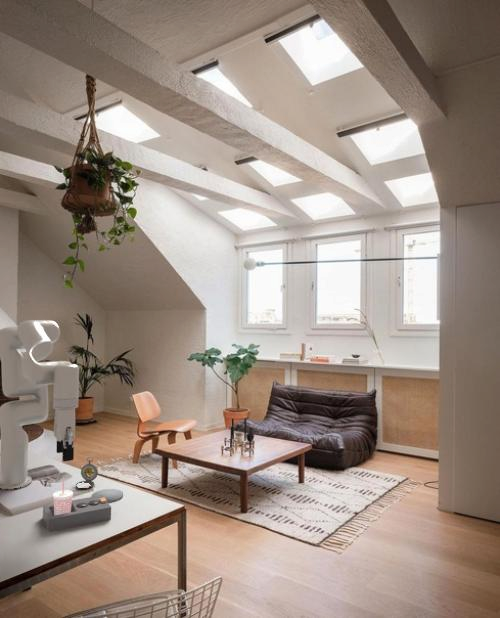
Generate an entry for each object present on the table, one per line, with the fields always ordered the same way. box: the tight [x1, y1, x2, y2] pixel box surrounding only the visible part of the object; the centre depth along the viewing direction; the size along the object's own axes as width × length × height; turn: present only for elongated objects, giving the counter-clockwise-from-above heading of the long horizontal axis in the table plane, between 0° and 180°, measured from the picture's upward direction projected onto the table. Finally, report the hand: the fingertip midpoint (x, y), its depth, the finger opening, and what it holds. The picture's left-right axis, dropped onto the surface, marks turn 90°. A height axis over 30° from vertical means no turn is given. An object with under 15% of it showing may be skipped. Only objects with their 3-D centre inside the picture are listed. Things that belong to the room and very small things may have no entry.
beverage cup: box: [52, 477, 74, 515], centre depth 154 cm, size 6×6×14 cm
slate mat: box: [91, 488, 124, 504], centre depth 174 cm, size 11×11×1 cm
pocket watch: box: [75, 457, 99, 488], centre depth 184 cm, size 8×8×10 cm
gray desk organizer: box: [42, 495, 112, 533], centre depth 156 cm, size 11×19×5 cm, turn 122°
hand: (64, 456), depth 153 cm, fingers open, 9 cm apart
